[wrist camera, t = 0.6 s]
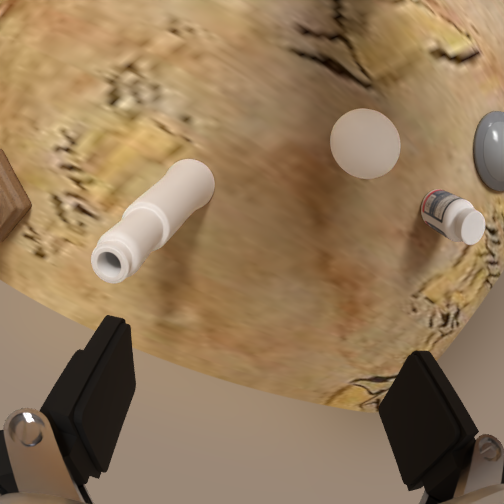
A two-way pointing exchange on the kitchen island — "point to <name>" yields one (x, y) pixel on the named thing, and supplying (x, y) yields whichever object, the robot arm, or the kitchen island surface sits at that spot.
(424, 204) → the pill bottle
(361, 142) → the light bulb
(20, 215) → the candle holder
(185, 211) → the cosmetic bottle
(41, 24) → the kitchen island surface
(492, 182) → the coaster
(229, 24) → the kitchen island surface
